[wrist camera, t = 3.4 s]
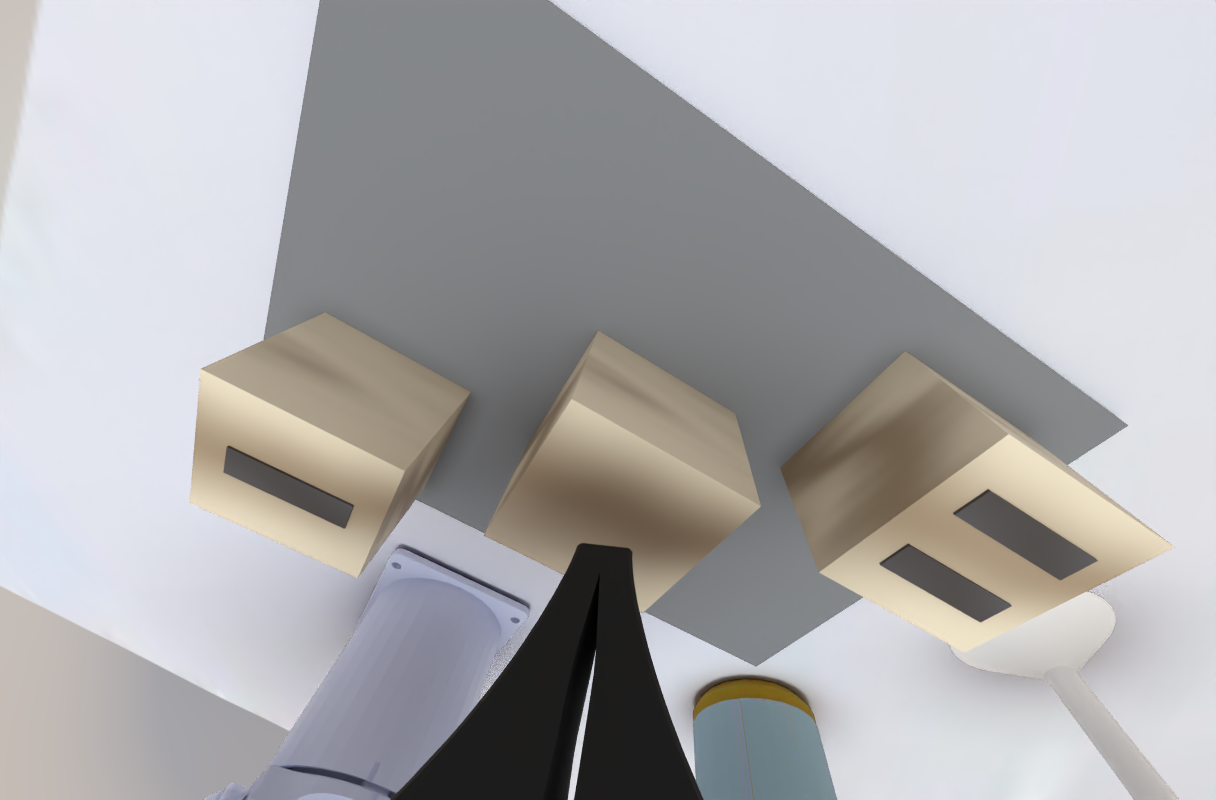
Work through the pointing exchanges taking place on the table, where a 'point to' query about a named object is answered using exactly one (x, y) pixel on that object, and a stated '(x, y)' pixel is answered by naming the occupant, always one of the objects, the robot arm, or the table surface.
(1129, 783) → the champagne flute
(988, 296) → the table surface
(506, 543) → the plain birch block
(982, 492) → the two-bar birch block
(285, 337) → the one-bar birch block
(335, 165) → the charcoal rubber mat
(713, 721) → the bottle
